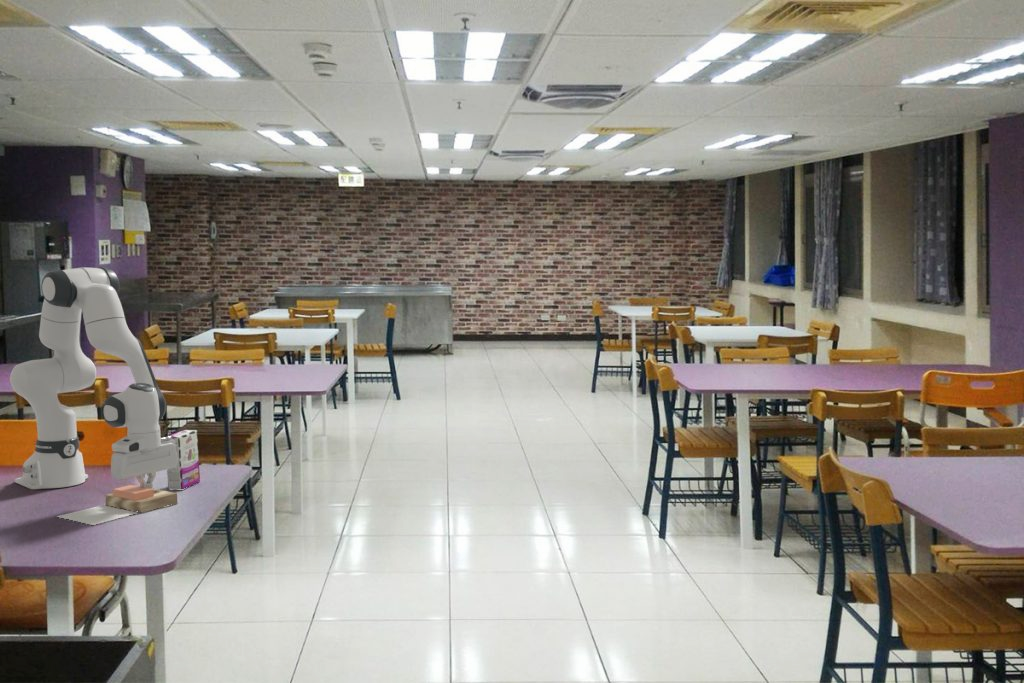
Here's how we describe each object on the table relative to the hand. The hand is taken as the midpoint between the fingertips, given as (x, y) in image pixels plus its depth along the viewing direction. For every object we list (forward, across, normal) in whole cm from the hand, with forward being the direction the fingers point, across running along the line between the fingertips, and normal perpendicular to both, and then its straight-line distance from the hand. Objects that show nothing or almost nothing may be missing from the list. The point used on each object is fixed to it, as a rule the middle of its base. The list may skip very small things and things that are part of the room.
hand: (146, 489), depth 296 cm
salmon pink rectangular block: (+1, +4, 0) cm, 5 cm away
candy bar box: (+4, -19, -8) cm, 21 cm away
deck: (+4, +2, 0) cm, 5 cm away
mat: (+4, +16, 0) cm, 16 cm away
